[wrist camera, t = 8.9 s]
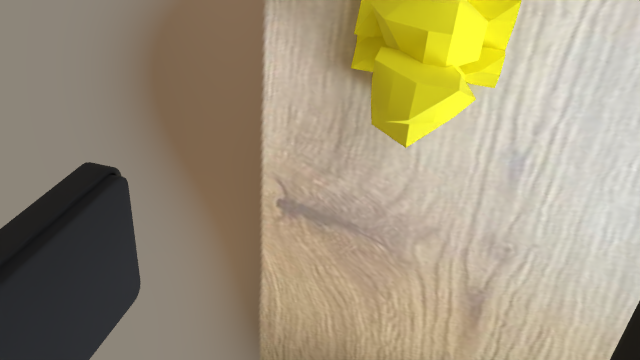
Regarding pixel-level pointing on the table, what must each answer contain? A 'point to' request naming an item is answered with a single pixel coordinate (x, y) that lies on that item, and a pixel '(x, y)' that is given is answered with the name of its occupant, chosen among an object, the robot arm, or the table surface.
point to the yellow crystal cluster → (429, 58)
